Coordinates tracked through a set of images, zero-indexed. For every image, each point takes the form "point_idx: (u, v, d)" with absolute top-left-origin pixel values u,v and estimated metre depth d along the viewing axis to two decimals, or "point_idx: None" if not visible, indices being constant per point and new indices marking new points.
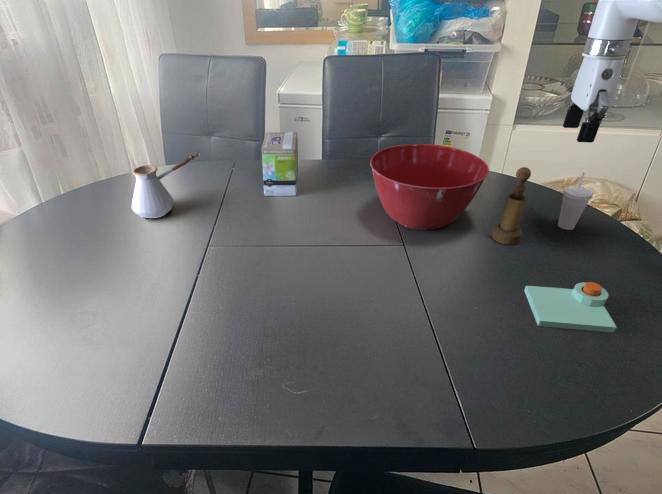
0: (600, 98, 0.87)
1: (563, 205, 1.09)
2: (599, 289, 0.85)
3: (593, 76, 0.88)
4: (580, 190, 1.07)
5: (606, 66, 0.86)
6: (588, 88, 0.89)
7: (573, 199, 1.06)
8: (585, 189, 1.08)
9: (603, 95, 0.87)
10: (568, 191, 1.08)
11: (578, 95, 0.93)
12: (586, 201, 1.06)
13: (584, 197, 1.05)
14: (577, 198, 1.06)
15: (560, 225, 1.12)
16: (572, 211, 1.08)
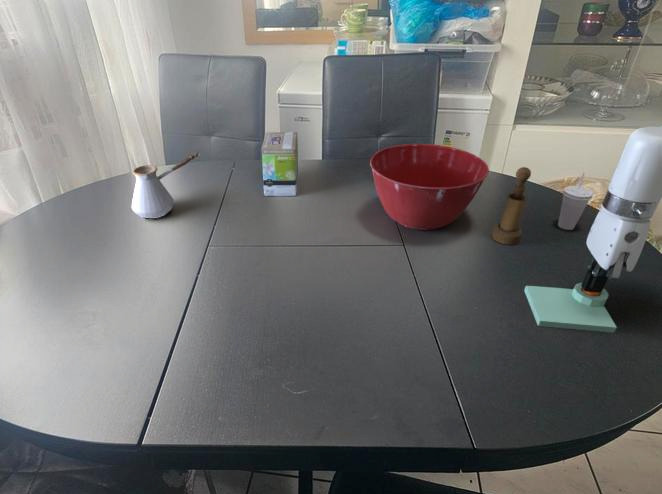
0: (614, 266, 0.78)
1: (563, 205, 1.09)
2: (597, 292, 0.85)
3: (614, 236, 0.75)
4: (580, 190, 1.07)
5: (630, 229, 0.74)
6: (608, 247, 0.77)
7: (573, 199, 1.06)
8: (585, 189, 1.08)
9: (619, 263, 0.77)
10: (568, 191, 1.08)
11: (595, 247, 0.81)
12: (586, 201, 1.06)
13: (584, 197, 1.05)
14: (577, 198, 1.06)
15: (560, 225, 1.12)
16: (572, 211, 1.08)
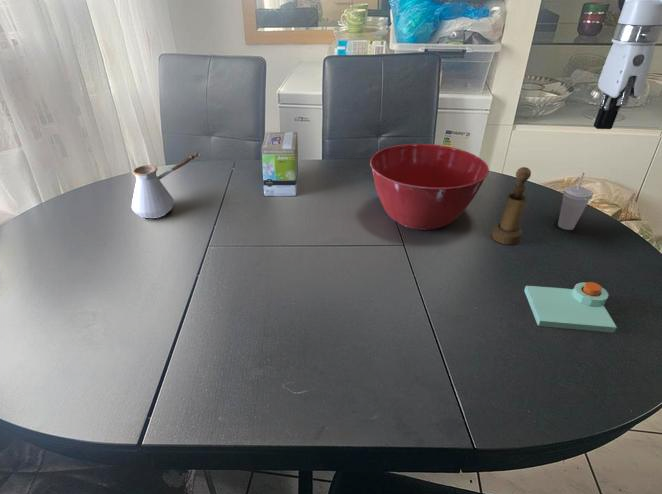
0: (623, 92, 0.90)
1: (563, 205, 1.09)
2: (599, 289, 0.85)
3: (624, 62, 0.87)
4: (580, 190, 1.07)
5: (637, 52, 0.85)
6: (618, 74, 0.89)
7: (573, 199, 1.06)
8: (585, 189, 1.08)
9: (627, 89, 0.89)
10: (568, 191, 1.08)
11: (606, 82, 0.93)
12: (586, 201, 1.06)
13: (584, 197, 1.05)
14: (577, 198, 1.06)
15: (560, 225, 1.12)
16: (572, 211, 1.08)
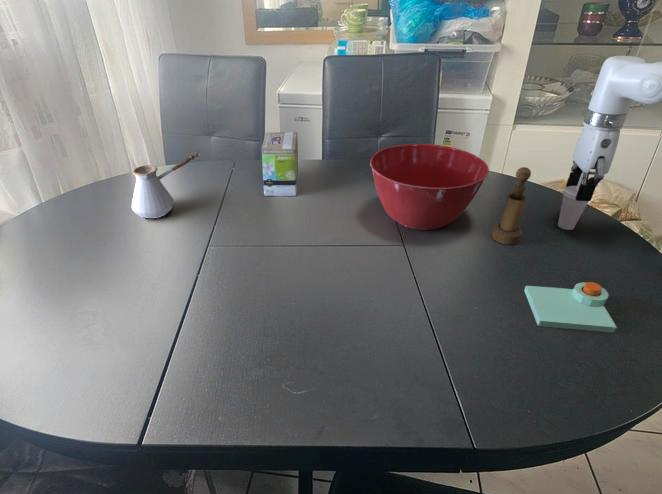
0: (597, 167, 0.98)
1: (563, 205, 1.09)
2: (599, 289, 0.85)
3: (593, 144, 0.97)
4: None
5: (605, 136, 0.96)
6: (588, 154, 0.99)
7: (573, 199, 1.06)
8: None
9: (600, 164, 0.98)
10: (568, 191, 1.08)
11: (579, 158, 1.03)
12: (586, 201, 1.06)
13: None
14: None
15: (560, 225, 1.12)
16: (572, 211, 1.08)
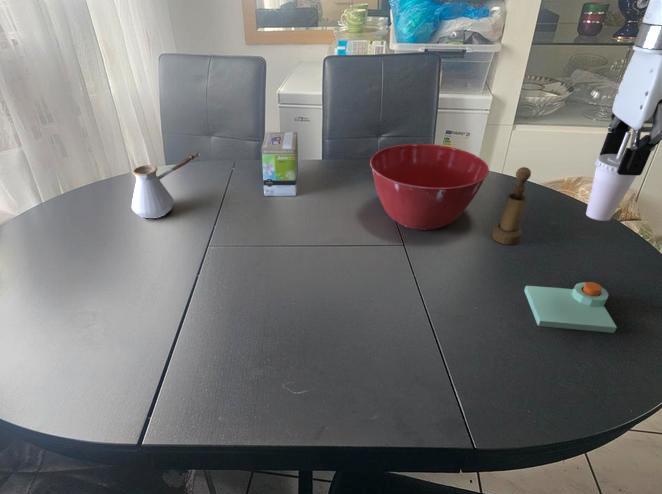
0: (658, 117, 0.60)
1: (596, 182, 0.72)
2: (599, 289, 0.85)
3: (651, 80, 0.60)
4: None
5: None
6: (642, 97, 0.62)
7: (612, 172, 0.69)
8: None
9: None
10: (604, 161, 0.70)
11: (625, 107, 0.66)
12: (633, 176, 0.69)
13: None
14: None
15: (590, 214, 0.75)
16: (611, 192, 0.71)
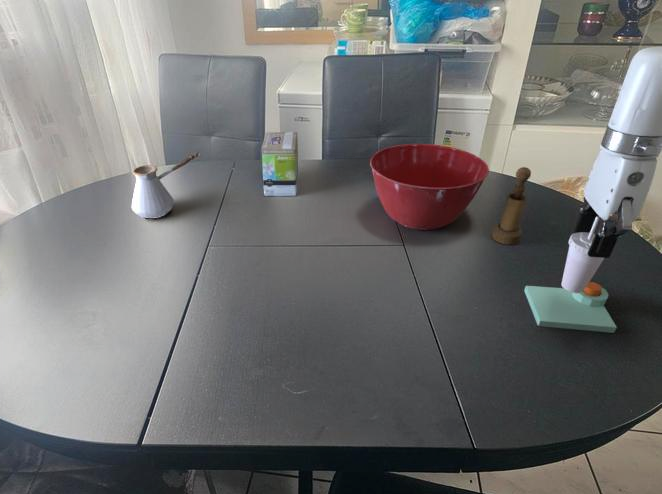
0: (622, 213, 0.66)
1: (569, 259, 0.77)
2: (599, 289, 0.85)
3: (616, 179, 0.65)
4: None
5: (634, 169, 0.64)
6: (608, 192, 0.67)
7: (584, 253, 0.74)
8: None
9: (627, 209, 0.66)
10: (576, 241, 0.76)
11: (594, 196, 0.71)
12: None
13: None
14: None
15: (565, 286, 0.80)
16: (583, 269, 0.76)
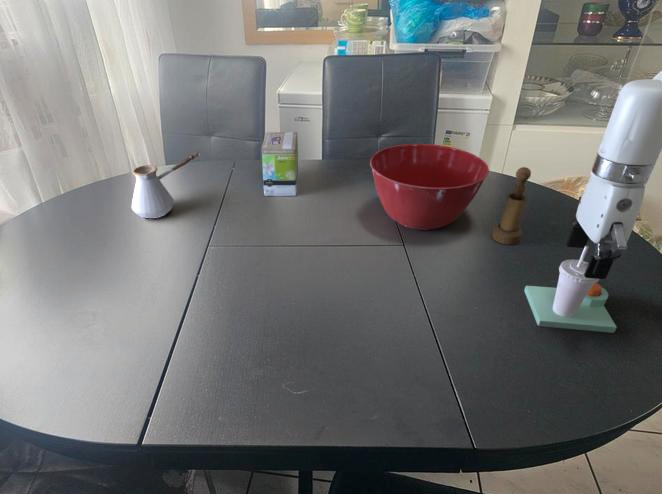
0: (615, 234, 0.67)
1: (560, 286, 0.81)
2: (599, 289, 0.85)
3: (605, 205, 0.68)
4: (583, 268, 0.79)
5: (623, 196, 0.66)
6: (598, 217, 0.69)
7: (573, 281, 0.78)
8: None
9: (619, 230, 0.67)
10: (566, 269, 0.79)
11: (585, 219, 0.73)
12: (591, 284, 0.78)
13: (588, 280, 0.76)
14: (578, 280, 0.77)
15: (556, 310, 0.84)
16: (572, 296, 0.79)
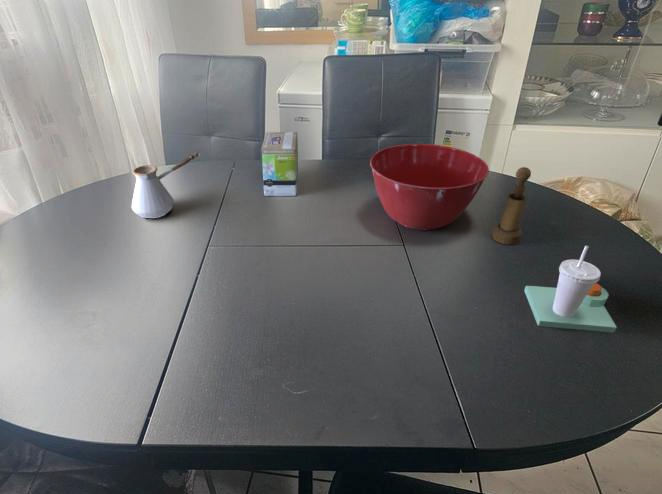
0: None
1: (560, 286, 0.81)
2: (599, 289, 0.85)
3: None
4: (583, 268, 0.79)
5: None
6: None
7: (573, 281, 0.78)
8: (589, 266, 0.80)
9: None
10: (566, 269, 0.79)
11: None
12: (591, 284, 0.78)
13: (588, 280, 0.76)
14: (579, 280, 0.77)
15: (556, 310, 0.84)
16: (572, 296, 0.79)
